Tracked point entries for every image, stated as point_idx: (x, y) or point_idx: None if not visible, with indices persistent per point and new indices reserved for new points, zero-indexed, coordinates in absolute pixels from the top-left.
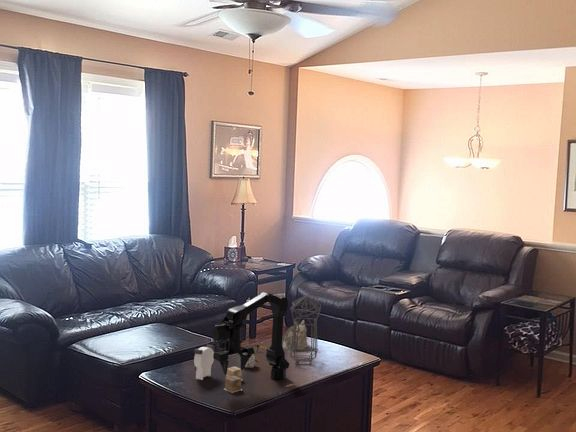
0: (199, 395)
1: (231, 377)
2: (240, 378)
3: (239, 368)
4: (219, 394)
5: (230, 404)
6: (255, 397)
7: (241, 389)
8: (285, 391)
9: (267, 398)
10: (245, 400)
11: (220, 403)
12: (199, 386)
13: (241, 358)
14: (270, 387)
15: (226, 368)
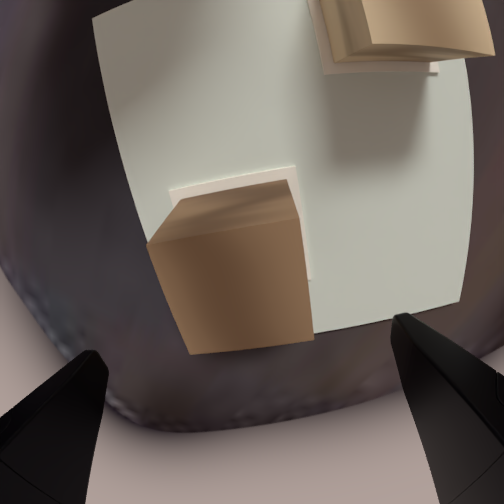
0: (12, 208)
1: (226, 267)
2: (308, 336)
3: (484, 20)
4: (121, 246)
5: (150, 387)
6: (321, 375)
7: (307, 271)
8: (484, 350)
9: (363, 397)
10: (246, 385)
11: (104, 358)
12: (47, 35)
13: (492, 467)
14: (489, 281)
15: (78, 461)
